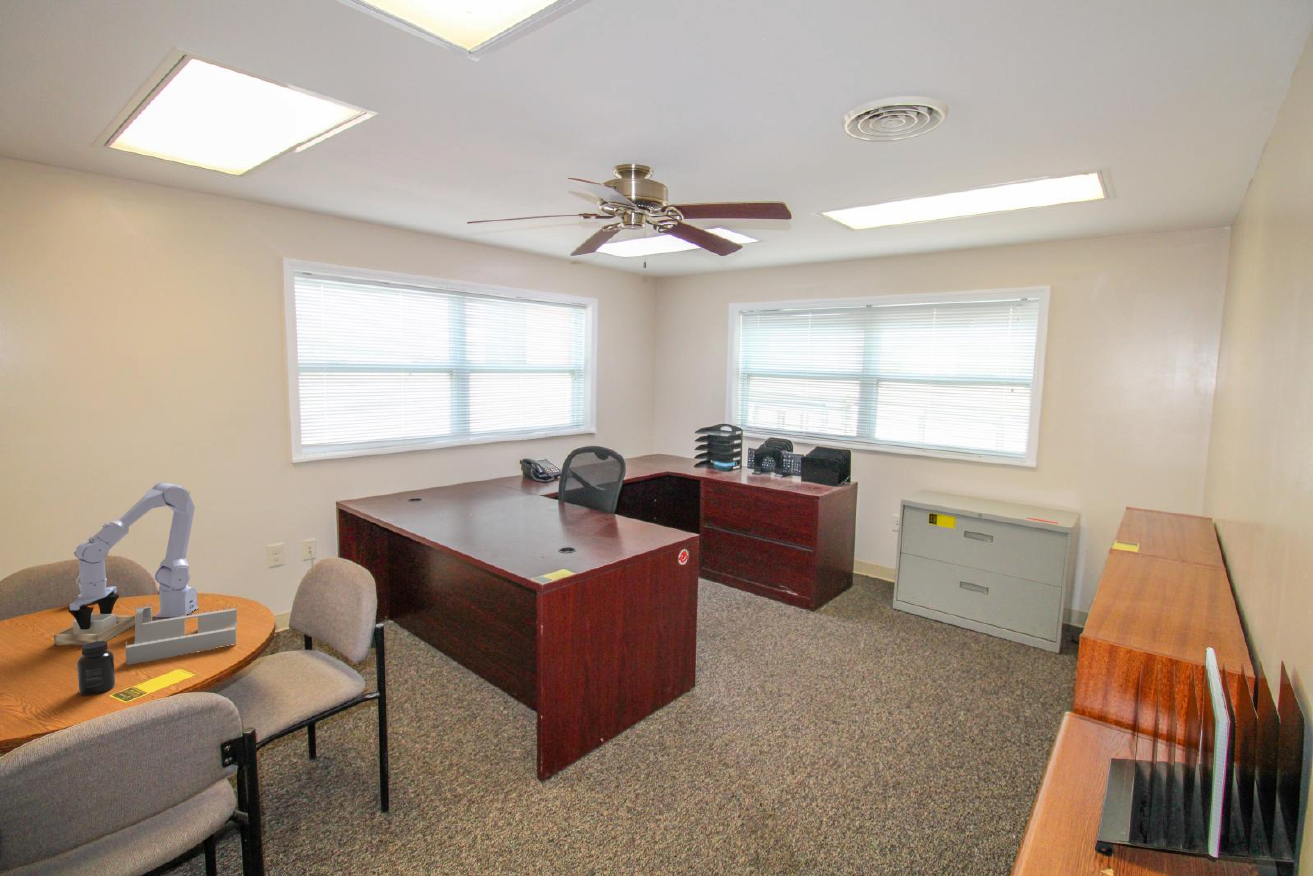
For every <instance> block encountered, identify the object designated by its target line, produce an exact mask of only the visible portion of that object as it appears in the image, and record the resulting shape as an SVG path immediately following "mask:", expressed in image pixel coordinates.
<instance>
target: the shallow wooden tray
mask: <svg viewBox="0 0 1313 876" xmlns="http://www.w3.org/2000/svg"><path fill="white" fill-rule="evenodd" d="M116 623H117V624H116V625H114V626H112V627H110V628H108V629H106V630H104V631H102V632H101V633H99V634H73V625H72V626H69V627H67V628H66V629H64V630H61V631H60V632H57V633H55V634H53V646H84V645H86V644H88V643H92V642H97V641H106V642H108V641H110V640H111V639H113V638H115V637H116V636H118V634H119V635H120V634H122V633H124V632H125V630H126V631H128V630H129V628H130V627H131V628H133V627H135V626H134V625H135V615H116ZM131 628H130V629H131ZM127 629H128V630H127ZM121 632H122V633H121ZM114 636H115V637H114Z"/></svg>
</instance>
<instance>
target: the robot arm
mask: <svg viewBox="0 0 1313 876" xmlns="http://www.w3.org/2000/svg"><path fill="white" fill-rule="evenodd" d="M190 493H191V492H190V491H189V490H188V489H186V488H185V487H184V486H182V485H179V484H173V483H169V482H165V481H164V482H162V481H161V482H158V483H156V484H154V486H153V487H152V488H150V489H148V490H147V491H146V493H144V495H143V497H141V498H140V499H139V500H138V501H137V502H136V503H135V504H134V505H132V507H131V508H130V509H129V510H127V512H126V513H125V514H123V515H122V516H121V517H120V518H119V519H117V520H111V521H109V522H108V523H104V524H103V525H102V526H101V527H102V528H101V529H100V530H99V531H97V532H96V533H95V534H93V536H90V537H89V538H87V541H86V540H85V541H84V542H81V543H80V544H79V545H78V546H77V547H76V548H75V549H76V550H74V552H73V554H74V556H75V558H76V559H78V566H79V567H78V569H79V571H78V572H79V574H78V575H80V578H79V584H80V589H81V591H80V594H78V595H77V599H76V600H74V601H72V602H70V603H69V608H67V609H68V613H70V614H71V616H73V618H74V620H76V621H77V623H78V625H79V627H80V629H81V630H87V629H90V623H91V614H93V611H94V608H95V607H94V606H91V607H90V606H88V605H87V604H89V603H92V602H94V601H97V603H96V604H97V605H98V609H99V614H113V610H114V607H115V605H116V603H117V600H118V599H119V598H120V594H118V593H117V592H118V591H117V590H118V588H117V586H114V585H113V586H111V585H109V586H108V587H107V581H106V578H107V577H106V574H107V573H106V563H105V559H106V558H107V557H108V555H109V551H110V550H111V549H112V548H113V547H114V546H116V544H117V543H118V542H120V541H121V540H122V539H123V538H125V537H126V536H127V535H128V534H129V529H130V527H131V526H132V525H133V524H135V522H137V521H138V520H139V519H141V518H142V517H143V516H145V515H146V514H148V512H150V511H151V510H152V509H155V508H163V507H166V506H167V507H168V508H169V509H171V511H173V515H172V519H171V526H170V531H169V537H168V542H167V547H166V551H165V552H166V553H165V557H164V559H162V560H161V562H160V564H159V567H158V569H157V570H156V571H155V574H154V580H155V581H156V583H158V584H159V587H158V593H159V597H158V598H159V612H158V613H156V614H153V615H152V618H163V617H164V618H175V617H182V616H184V615H183V614H185V616H188V615H190V614H192V613H191V612H190V611H193V612H195V611H196V610H198V609H199V608H200V607H199V606H198V594H197V593H198V591H197V589H196V588H195V587H194V586H193V587H192V586H189V585H188V584H189V582H190V580H191V574H190V572H189V568H190V566H189V563H188V561H187V558H186V557H187V553H188V546H189V542H190V536H191V535H190V534H191V530H192V525H193V521H194V520H193V519H194V513H195V509H196V508H195V504H194V502H193V500H192V498H191V494H190ZM89 605H90V604H89ZM195 609H196V610H195ZM194 610H195V611H194ZM177 613H178V615H177ZM189 613H190V614H189ZM171 614H172V615H171ZM187 614H188V615H187ZM164 615H165V616H164ZM176 615H177V616H176ZM157 616H159V617H157ZM170 616H171V617H170Z"/></svg>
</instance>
